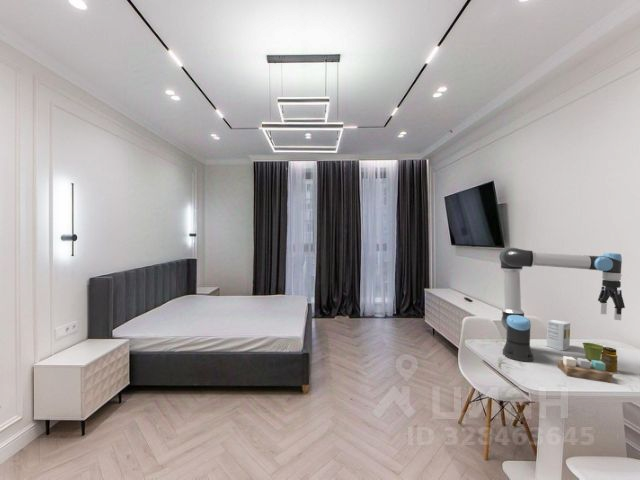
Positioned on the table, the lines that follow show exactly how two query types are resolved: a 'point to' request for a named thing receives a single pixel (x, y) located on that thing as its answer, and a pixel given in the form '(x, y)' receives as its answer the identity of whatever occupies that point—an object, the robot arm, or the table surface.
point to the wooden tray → (585, 372)
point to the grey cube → (583, 363)
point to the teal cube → (598, 365)
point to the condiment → (610, 359)
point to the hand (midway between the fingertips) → (610, 317)
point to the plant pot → (593, 351)
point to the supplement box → (558, 334)
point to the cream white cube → (569, 361)
